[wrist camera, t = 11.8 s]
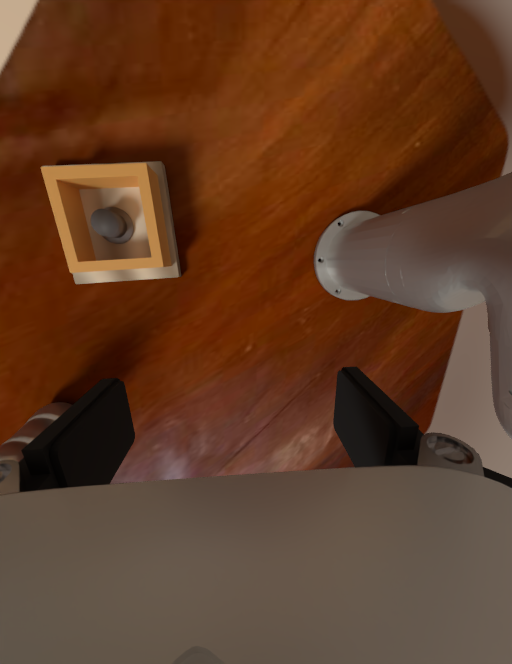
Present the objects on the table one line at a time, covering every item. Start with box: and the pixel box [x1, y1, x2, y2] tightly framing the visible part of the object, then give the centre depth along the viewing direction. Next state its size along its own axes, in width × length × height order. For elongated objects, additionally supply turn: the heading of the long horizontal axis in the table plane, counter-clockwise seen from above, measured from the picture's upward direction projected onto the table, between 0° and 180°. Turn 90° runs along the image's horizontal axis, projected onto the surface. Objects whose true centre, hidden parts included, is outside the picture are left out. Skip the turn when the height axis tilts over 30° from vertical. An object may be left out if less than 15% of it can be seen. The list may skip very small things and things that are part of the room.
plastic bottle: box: [0, 402, 72, 462], centre depth 31 cm, size 6×7×20 cm
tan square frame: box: [41, 163, 172, 273], centre depth 29 cm, size 11×11×4 cm
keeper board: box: [43, 161, 181, 284], centre depth 31 cm, size 14×14×4 cm
